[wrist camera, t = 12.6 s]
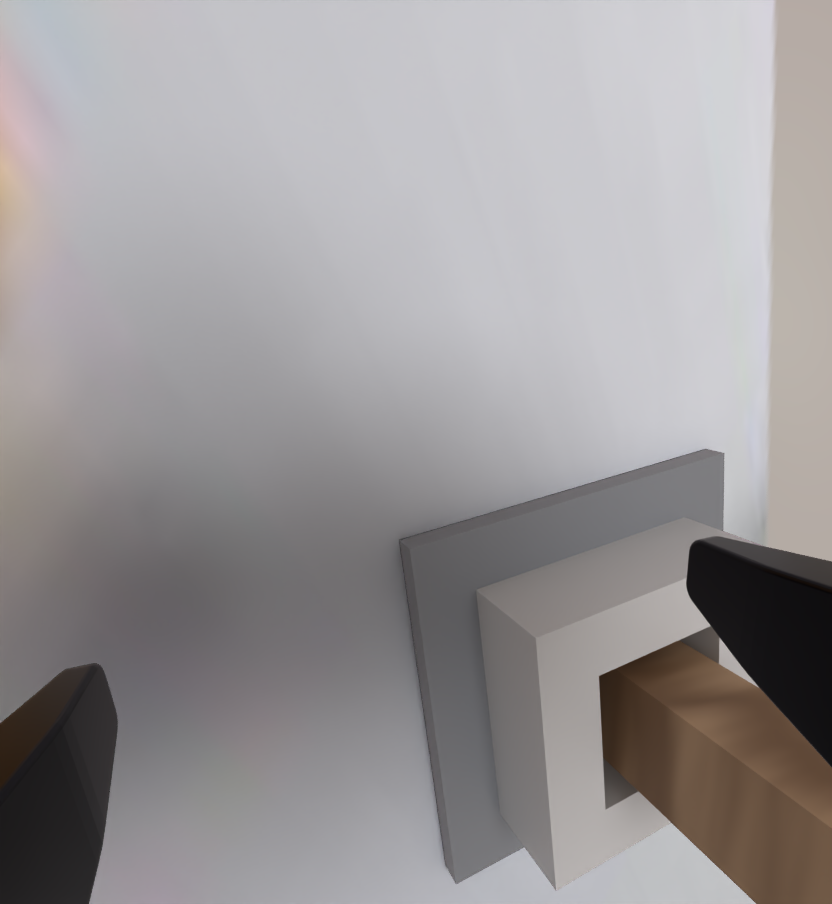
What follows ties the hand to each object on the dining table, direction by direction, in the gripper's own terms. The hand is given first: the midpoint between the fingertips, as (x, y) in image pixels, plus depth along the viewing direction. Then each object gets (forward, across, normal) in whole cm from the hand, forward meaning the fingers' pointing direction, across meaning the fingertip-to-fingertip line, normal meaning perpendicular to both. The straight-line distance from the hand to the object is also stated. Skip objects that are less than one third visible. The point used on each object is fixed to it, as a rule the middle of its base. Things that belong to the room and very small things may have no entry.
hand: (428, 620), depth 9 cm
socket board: (+13, -10, +13) cm, 21 cm away
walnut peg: (+12, -10, +13) cm, 21 cm away
